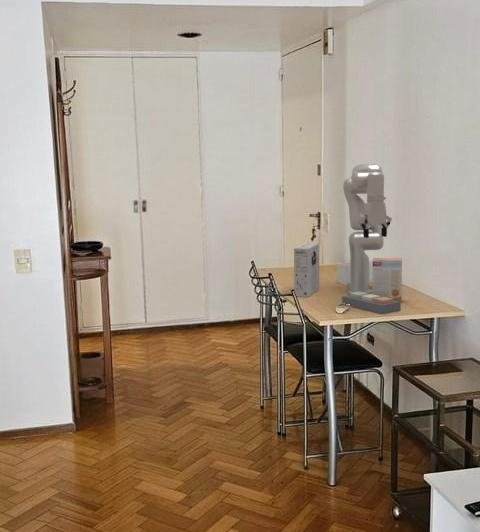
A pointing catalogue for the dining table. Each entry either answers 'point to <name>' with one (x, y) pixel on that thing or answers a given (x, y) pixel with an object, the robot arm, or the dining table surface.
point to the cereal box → (306, 269)
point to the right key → (383, 300)
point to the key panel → (371, 305)
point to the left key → (358, 294)
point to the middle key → (370, 297)
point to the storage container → (344, 272)
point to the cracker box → (387, 278)
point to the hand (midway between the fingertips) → (375, 237)
